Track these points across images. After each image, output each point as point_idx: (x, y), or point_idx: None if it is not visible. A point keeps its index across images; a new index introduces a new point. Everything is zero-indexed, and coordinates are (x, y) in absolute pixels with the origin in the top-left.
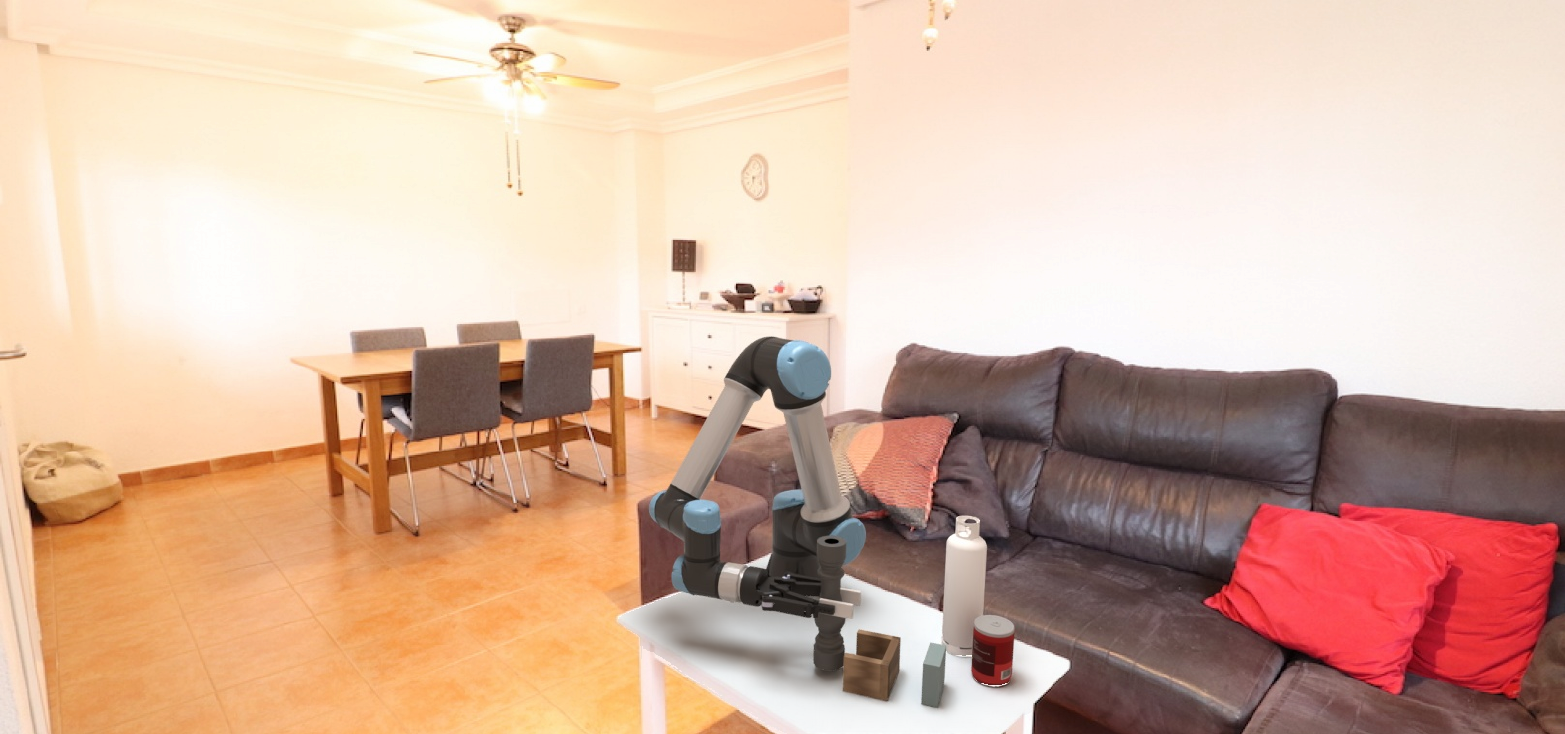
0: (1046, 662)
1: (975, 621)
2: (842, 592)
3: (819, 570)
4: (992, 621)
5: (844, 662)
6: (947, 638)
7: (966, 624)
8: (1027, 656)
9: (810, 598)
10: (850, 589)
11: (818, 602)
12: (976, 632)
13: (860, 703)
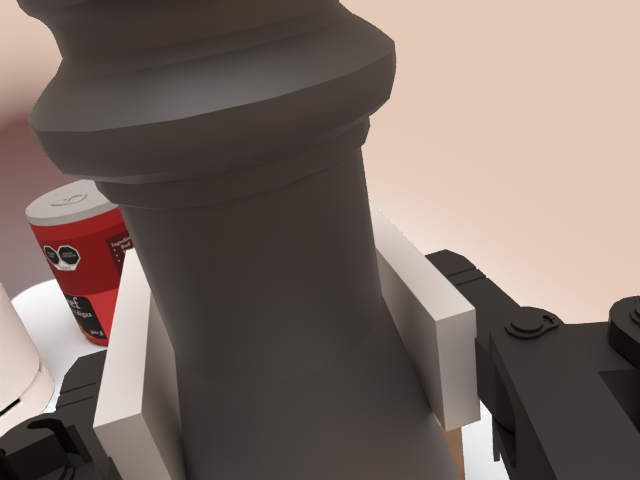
0: (41, 289)
1: (78, 210)
2: (158, 337)
3: (318, 49)
4: (58, 207)
5: (460, 437)
6: (8, 389)
7: (7, 297)
8: (20, 313)
9: (532, 384)
10: (124, 288)
11: (395, 443)
12: (118, 214)
13: (473, 446)
